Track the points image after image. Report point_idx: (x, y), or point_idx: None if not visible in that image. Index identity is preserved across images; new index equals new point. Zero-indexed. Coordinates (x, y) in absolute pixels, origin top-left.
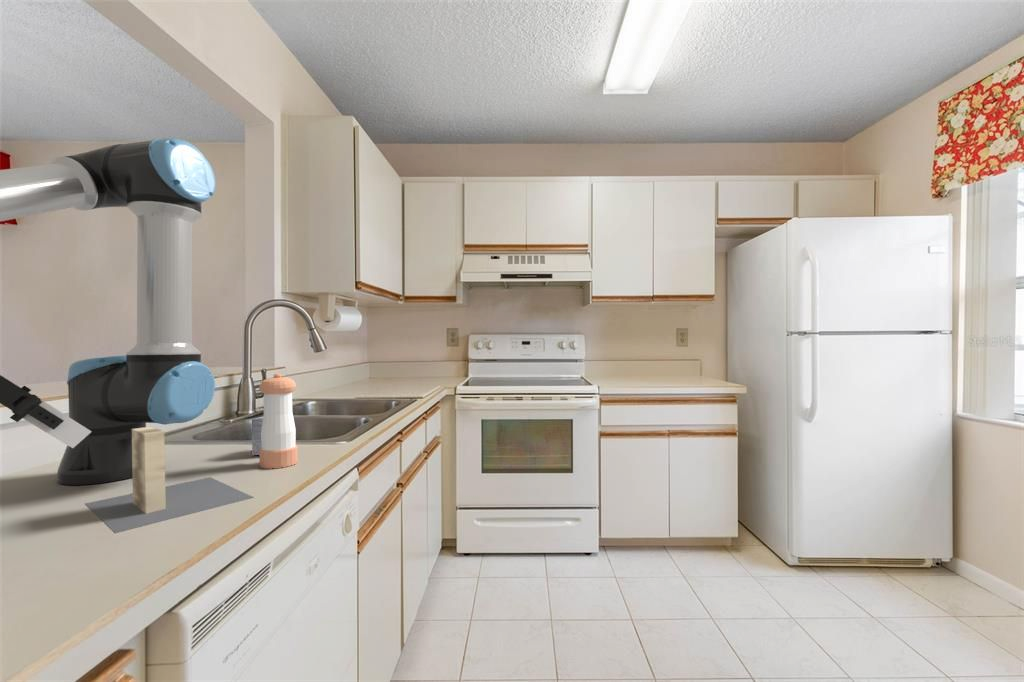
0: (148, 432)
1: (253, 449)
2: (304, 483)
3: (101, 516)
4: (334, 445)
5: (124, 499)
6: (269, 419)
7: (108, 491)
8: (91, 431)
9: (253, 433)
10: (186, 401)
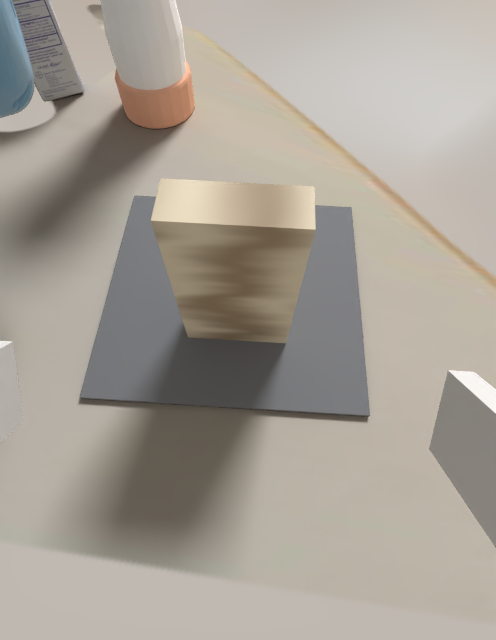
0: (287, 214)
1: (41, 87)
2: (327, 137)
3: (226, 402)
4: None
5: (134, 338)
6: (147, 3)
7: (10, 336)
8: (473, 372)
9: None
10: (13, 16)
